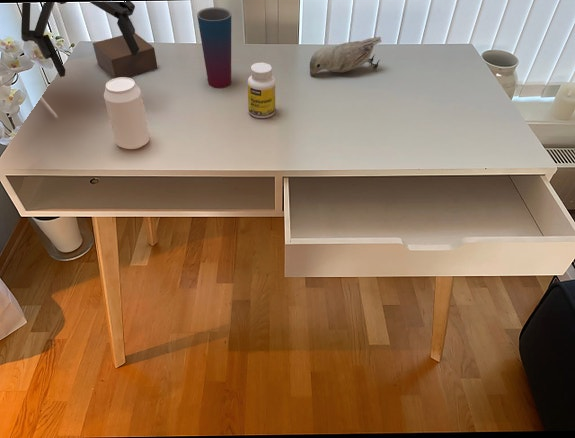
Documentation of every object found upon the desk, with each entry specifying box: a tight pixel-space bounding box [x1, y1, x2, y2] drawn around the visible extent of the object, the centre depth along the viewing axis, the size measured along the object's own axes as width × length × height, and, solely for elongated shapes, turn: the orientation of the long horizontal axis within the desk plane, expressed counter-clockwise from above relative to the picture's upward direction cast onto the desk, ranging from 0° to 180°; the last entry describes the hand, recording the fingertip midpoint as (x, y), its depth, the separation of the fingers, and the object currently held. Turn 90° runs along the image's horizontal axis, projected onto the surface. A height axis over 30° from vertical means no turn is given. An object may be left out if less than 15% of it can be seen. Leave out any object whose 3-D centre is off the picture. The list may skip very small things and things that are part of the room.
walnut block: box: [92, 32, 158, 79], centre depth 115 cm, size 10×10×5 cm
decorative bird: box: [309, 36, 382, 76], centre depth 114 cm, size 5×16×8 cm, turn 105°
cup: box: [196, 6, 232, 89], centre depth 107 cm, size 7×7×15 cm
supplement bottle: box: [247, 62, 276, 119], centre depth 100 cm, size 5×5×10 cm
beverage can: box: [103, 77, 151, 150], centre depth 91 cm, size 6×6×12 cm
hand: (100, 63), depth 91 cm, fingers open, 13 cm apart
